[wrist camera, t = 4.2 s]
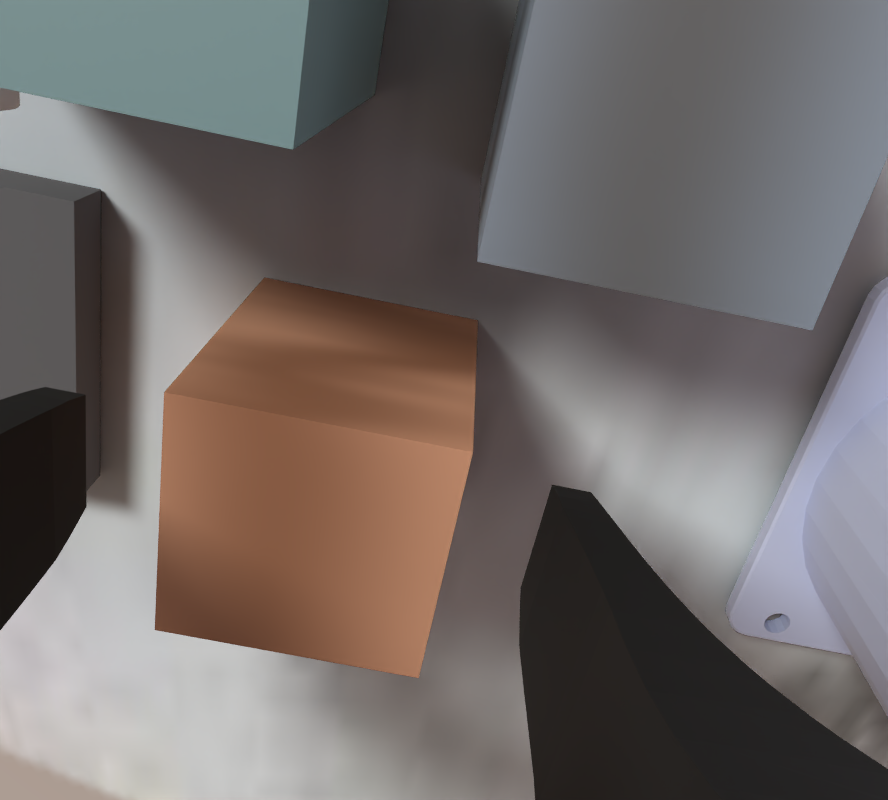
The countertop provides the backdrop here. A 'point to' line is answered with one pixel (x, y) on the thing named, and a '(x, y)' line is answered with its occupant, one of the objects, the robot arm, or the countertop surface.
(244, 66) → the box
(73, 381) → the mat
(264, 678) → the countertop surface
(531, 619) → the robot arm
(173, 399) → the terracotta block
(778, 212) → the slate block
